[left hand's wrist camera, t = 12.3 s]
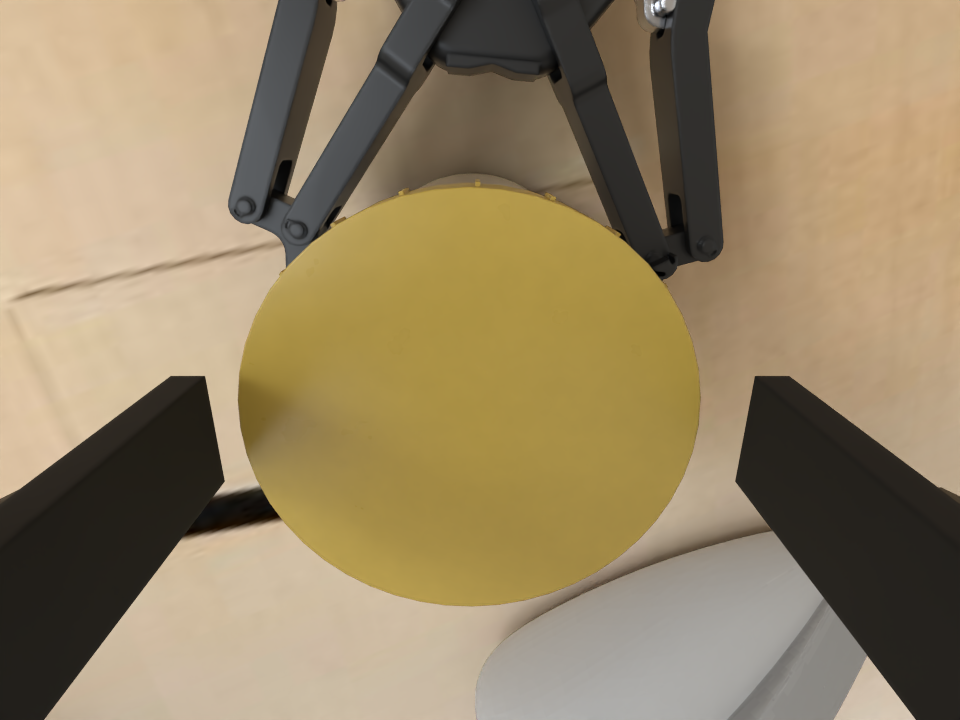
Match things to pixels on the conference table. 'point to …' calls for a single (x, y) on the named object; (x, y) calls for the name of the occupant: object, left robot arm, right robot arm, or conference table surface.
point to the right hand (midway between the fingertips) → (464, 410)
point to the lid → (469, 395)
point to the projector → (681, 646)
